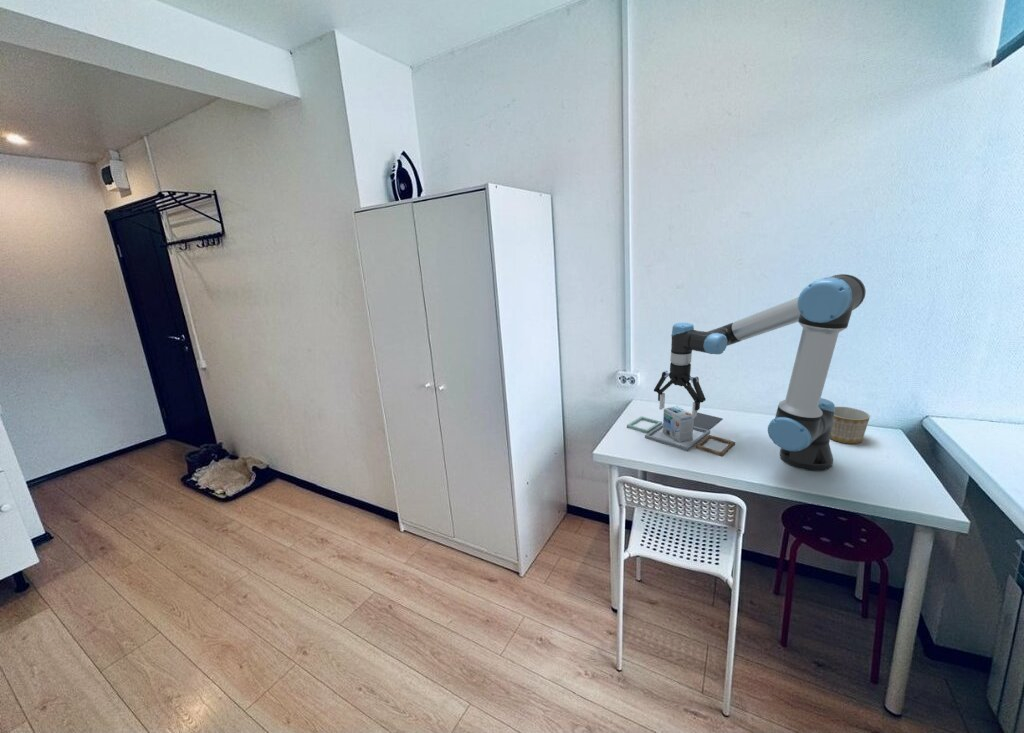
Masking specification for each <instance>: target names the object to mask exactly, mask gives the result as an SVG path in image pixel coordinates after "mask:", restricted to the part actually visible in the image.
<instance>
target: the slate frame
mask: <svg viewBox="0 0 1024 733" xmlns="http://www.w3.org/2000/svg"><path fill="white" fill-rule="evenodd" d="M660 430H663V423H662V424H661V425H660V426H658V427H657V428H655V429H654V430H652V431H651V432H649V433H645V435H644V438H645V439H647V440H651V441H654V442H656V443H660V444H664V445H666V446H670V447H673V448H676V449H680V450H682V451H684V452H685V451H686V452H689V451H690V450H691V449H693V448H695V445H697V444H698V443H699V442H700V441H701V440H703V439H704V438H705V437H706V436H708V435H711V429H710V430H707V429H703V428H699V427H695V426H693V431H696V432H700V433H702V434H701V435H700V436H699V437H697V438H695V439H693V441H692V442H691V443H689V444H688V445H687V446H686V445H682V444H679V443H675V442H672V441H669V440H666V439H663V438H659V437H656V436H654V435H655V434H656V433H658V432H659V431H660Z"/></svg>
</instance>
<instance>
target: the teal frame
mask: <svg viewBox="0 0 1024 733" xmlns="http://www.w3.org/2000/svg"><path fill="white" fill-rule="evenodd" d="M641 421H645V422H648V423H652V424H653V425H652V426H651V427H649V428H647V429H645V428H642V427H639V426H635V425H637V424H638V423H640V422H641ZM661 424H663V421H660V420H658V419H657V420H656V419H653V418H650V417H645V416H642V415H640V416H639V417H638V418H636V419H634V420H633V421H631V422H629V423H628V424H626V428H627V429H631V430H634V431H636V432H640V433H644V434H647V433H649V432H651V431H652V430H654V429H655V428H657V427H658V426H660V425H661Z"/></svg>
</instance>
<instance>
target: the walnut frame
mask: <svg viewBox="0 0 1024 733" xmlns="http://www.w3.org/2000/svg"><path fill="white" fill-rule="evenodd" d="M709 440H711V441H712V440H713V441H717V442H720V443H723V444H727V446H725V448H723V449H722V450H721V451H720V450H717V449H713V448H710V447H706V446H703V445H704V444H706V443H707V442H708V441H709ZM735 446H736V441H733V440H731V439H726V438H722V437H719V436H715V435H712V434H709V435H707V436H706V437H705V438H704V439H702V440H701V441H700V442H699V443H698V444H696V445H695V446H694V448H695V450H696V449H697V450H699V451H703V452H707V453H709V454H714V455H716V456H720V457H724V455H726V454H727V453H728V452H729V451H730V450H732V448H733V447H735Z"/></svg>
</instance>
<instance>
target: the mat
mask: <svg viewBox="0 0 1024 733" xmlns="http://www.w3.org/2000/svg"><path fill="white" fill-rule="evenodd" d="M721 421H723V418H722V417H719V416H713V415H711V414H706V413H701V412H697V416H696V417H695V418H694V424H693V426H695V427H699V428H703V429H707V430H710V431H711V429H712V428H714V427H715V426H716V425H717V424H719V423H720V422H721Z"/></svg>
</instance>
